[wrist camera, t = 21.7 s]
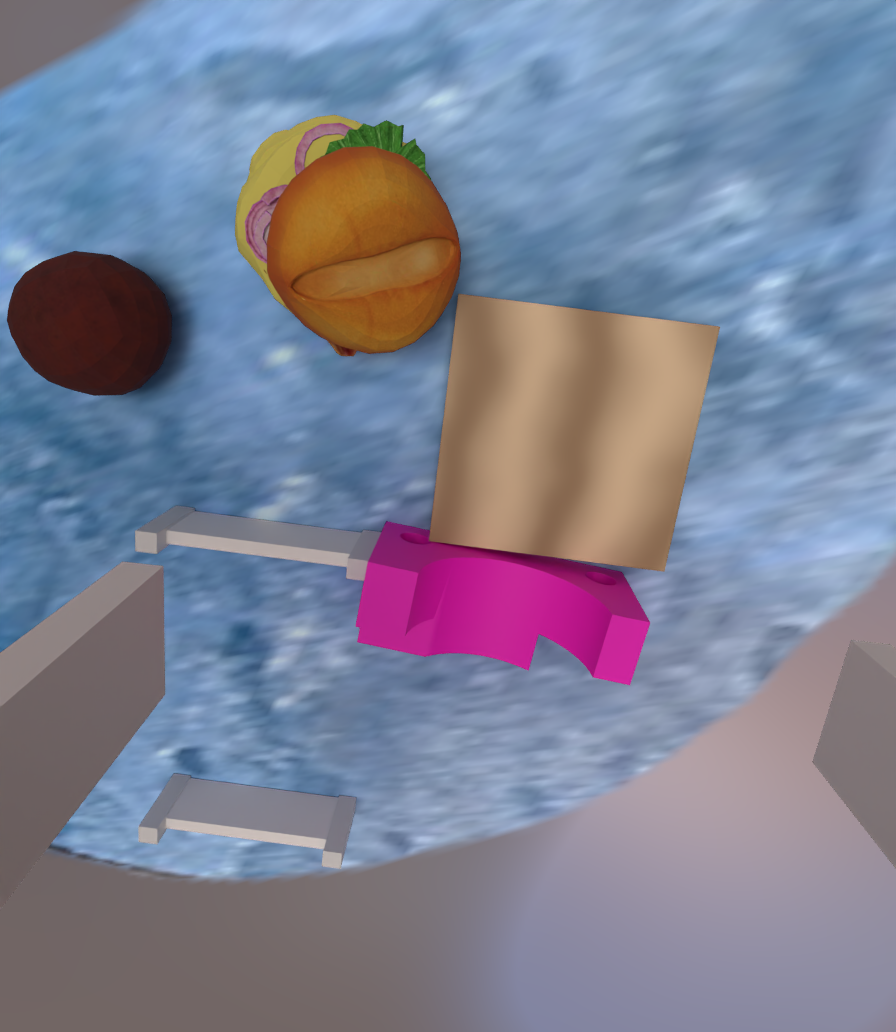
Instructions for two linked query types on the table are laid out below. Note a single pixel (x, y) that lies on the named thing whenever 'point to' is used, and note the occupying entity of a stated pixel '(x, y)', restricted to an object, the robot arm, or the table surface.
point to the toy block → (496, 604)
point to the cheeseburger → (349, 233)
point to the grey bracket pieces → (239, 804)
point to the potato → (90, 323)
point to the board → (568, 431)
